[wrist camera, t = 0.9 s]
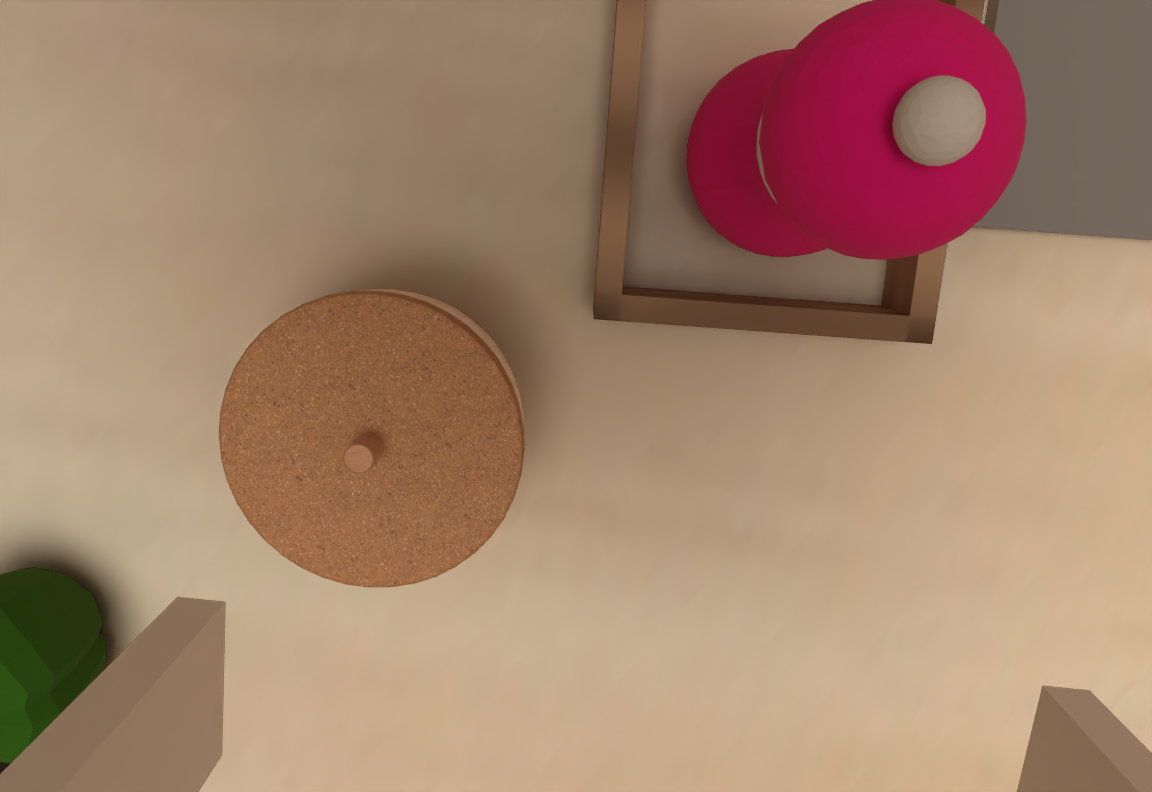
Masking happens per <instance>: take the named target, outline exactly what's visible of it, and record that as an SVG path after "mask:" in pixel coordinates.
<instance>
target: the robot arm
mask: <svg viewBox="0 0 1152 792" xmlns="http://www.w3.org/2000/svg"><path fill="white" fill-rule="evenodd" d="M225 607H226V602H223V601H213V600H203V599H194V598H184V597H177V598H176V599H175V600H174V601H173V602H172V603H171V604H170V605H169V606H168V607H167V608H166V609H165V610H164V611H163V612H162V613H161V614H160V615H159V616H158V617H157V618H156V619H155V620H154V621H153V622H152V623H151V624H150V625H149V626H148V627H147V628H146V629H145V630H144V631H143V632H142V633H141V634H140V635H139V636H138V637H137V638H136V639H135V640H134V641H133V642H132V643H131V644H130V645H129V646H128V647H127V648H126V649H125V650H124V651H123V652H122V653H121V654H120V655H119V656H118V657H117V658H116V659H115V660H114V661H113V662H112V663H111V664H110V665H109V666H108V667H107V668H106V669H105V670H104V671H103V672H102V673H101V674H100V675H99V676H98V677H97V678H96V679H95V680H94V681H93V682H92V683H91V684H90V685H89V686H88V687H87V688H86V689H85V690H84V691H83V692H82V693H81V694H80V695H79V696H78V697H77V698H76V699H75V700H74V701H73V702H72V703H71V704H70V705H69V706H68V707H67V708H66V709H65V710H64V711H63V712H62V713H61V714H60V715H59V716H58V717H57V718H56V719H55V720H54V721H53V722H52V723H51V724H50V725H49V726H48V727H47V728H46V729H45V730H44V731H43V732H42V733H41V734H40V735H39V736H38V737H37V738H36V739H35V740H34V741H33V742H32V743H31V744H30V745H29V746H28V747H27V748H26V749H25V750H24V751H23V752H22V753H21V754H20V755H19V756H18V757H17V758H16V759H15V760H14V761H13V762H12V763H6V762H0V792H199V790H200V789H201V787H202V786H203V784H204V783H205V781H206V779H207V778H208V776H209V775H210V773H211V772H212V770H213V769H214V767H215V765H216V764H217V762H218V761H219V759H220V758H221V756H222V741H223V696H224V652H225ZM1017 792H1152V753H1151V752H1150V751H1149V750H1148V749H1147V748H1146V747H1145V746H1144V745H1143V744H1142V743H1141V742H1140V741H1139V740H1138V739H1137V738H1136V737H1135V736H1134V735H1133V734H1132V733H1131V732H1130V731H1129V730H1128V729H1127V728H1126V727H1125V726H1124V725H1123V724H1122V723H1121V722H1120V721H1119V720H1118V719H1117V718H1116V717H1115V716H1114V715H1113V713H1112V712H1111V711H1110V710H1109V709H1108V708H1107V707H1106V706H1105V705H1104V704H1103V703H1102V702H1101V701H1100V700H1099V699H1098V698H1097V697H1096V696H1095V695H1094V694H1093V693H1092V692H1091V691H1090V690H1081V689H1071V688H1061V687H1052V686H1042V689H1041V693H1040V698H1039V702H1038V706H1037V710H1036V714H1035V718H1034V723H1033V727H1032V731H1031V735H1030V739H1029V743H1028V748H1027V752H1026V756H1025V760H1024V764H1023V768H1022V773H1021V777H1020V781H1019V785H1018V789H1017Z"/></svg>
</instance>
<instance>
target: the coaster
mask: <svg viewBox="0 0 1152 792" xmlns="http://www.w3.org/2000/svg"><path fill="white" fill-rule="evenodd" d="M985 26H986V27H987V28H988V29H989V30H991V31H992V32H993V33H994V34H995V35H996V36H997V37H998V38H999V40H1000V41H1001V42H1002V44H1003V45H1004V46H1005V47H1006V49H1007V50H1008V51H1009V53H1010V55H1011V57H1012V59H1013V61H1014V64H1015V66H1016V68H1017V70H1018V72H1019V74H1020V78H1021V83H1022V87H1023V91H1024V96H1025V104H1026V120H1027V122H1026V131H1025V140H1024V145H1023V149H1022V152H1021V156H1020V159H1019V162H1018V166H1017V168H1016V171H1015V173H1014V175H1013V177H1012V180H1011V181H1010V183H1009V184H1008V186H1007V188H1006V189H1005V191H1004V192H1003V194H1002V195H1001V197H1000V198H999V200H998V201H997V202H996V204H995V205H994V206H993V207H992V208H991V209H990V210H989V212H988V213H987V214H986V215H985V216H984V217H983V218H982V219H981V220H980V221H979V222H977V223H976V224H975V225H974V226H972V227H983V228H996V229H1010V230H1023V231H1037V232H1050V233H1064V234H1078V235H1091V236H1105V237H1118V238H1132V239H1145V240H1152V0H989V3H988V10H987V16H986V23H985Z"/></svg>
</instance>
